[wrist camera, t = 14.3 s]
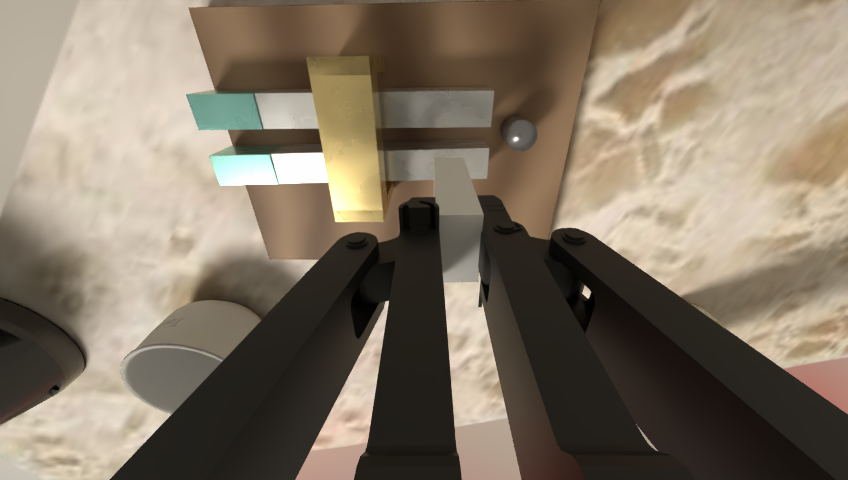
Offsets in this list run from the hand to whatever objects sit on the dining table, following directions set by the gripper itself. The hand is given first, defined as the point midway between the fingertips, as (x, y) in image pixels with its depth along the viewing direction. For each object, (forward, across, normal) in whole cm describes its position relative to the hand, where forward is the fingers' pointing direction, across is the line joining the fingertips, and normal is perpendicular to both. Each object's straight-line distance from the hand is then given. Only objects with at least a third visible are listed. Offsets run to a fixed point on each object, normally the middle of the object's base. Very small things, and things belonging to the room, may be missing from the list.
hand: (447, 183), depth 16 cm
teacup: (+10, -23, -20) cm, 32 cm away
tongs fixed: (+7, -5, +2) cm, 9 cm away
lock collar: (+7, -5, +1) cm, 9 cm away
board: (+9, -3, -1) cm, 9 cm away
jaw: (+7, -6, 0) cm, 9 cm away
